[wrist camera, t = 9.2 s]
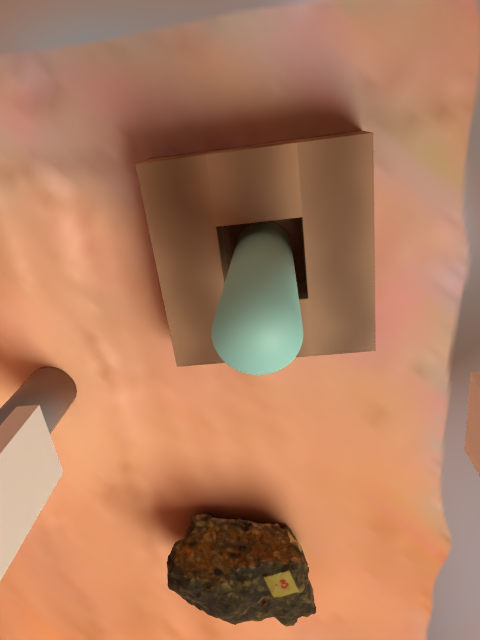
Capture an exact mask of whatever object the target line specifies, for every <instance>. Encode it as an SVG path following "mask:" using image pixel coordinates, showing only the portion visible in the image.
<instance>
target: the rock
mask: <svg viewBox="0 0 480 640" xmlns="http://www.w3.org/2000/svg"><path fill="white" fill-rule="evenodd" d="M167 568H168V587H169V589H170V590H173V591H175V592H176V593H177V594H179V595H180V596H181V597H182V598H183V599H185V600H186V601H187V602H188V603H189V604H191V605H194V606H196V607H197V608H198V609H199V610H202V611H204V612H206V613H207V614H208V615H211V616H213V617H215V618H220V619H221V620H223V621H227V622H229V623H231V624H235V625H236V624H237V623H242V622H245V621H251V620H252V621H262V620H264V619H265V618H270V617H275V618H276V619H278V620H279V621H280V622H281V623H282V624H283V625H285V626H293V625H294V624H295V623H296V622H297V619H298V618H299V617H301V616H305V617H308V616H310V615H311V614H315V613H316V606H315V603H314V596H313V588H312V586H311V583H310V581H309V579H308V572H309V567H308V564H307V562H306V559H305V556H304V553H303V551H302V547H301V546H300V544H299V543H298V541H297V540H296V538H295V536H294V535H293V533H292V532H291V530H290V529H289V528H288V527H284V528H283V529H282V528H280V526H279V525H278V523H276V524H270V523H267V524H260V523H256V522H251V521H249V520H242V519H241V518H238V519H225V518H220V519H219V518H213V517H212V516H211V515H210V514H204V513H200V514H196V515H194V516H193V517H192V519H191V526H190V527H189V529H188V531H187V532H186V535H185V538H184V539H181V540H179V541H177V542H176V543H175V544H174V546H173V548H172V551H171V553H170V555H169V556H168V561H167Z"/></svg>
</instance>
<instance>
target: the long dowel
mask: <svg viewBox="0 0 480 640" xmlns="http://www.w3.org/2000/svg"><path fill="white" fill-rule="evenodd" d="M212 341H213V345H214V347H215V350H216V351H217V353H218V355H219V356H220V357H221V359H222V360H223V361H224V362H225V363H227V364H228V365H229V366H230V367H232V368H234V369H236V370H238V371H240V372H243V373H247V374H253V375H264V374H270V373H273V372H276V371H279V370H281V369H282V368H284V367H286V366H287V365H288V364H290V363H291V362H292V361H293V360H294V358H295V357H296V356H297V354H298V353H299V350H300V348H301V345H302V342H303V326H302V319H301V311H300V304H299V297H298V289H297V282H296V275H295V267H294V260H293V252H292V245H291V241H290V238H289V236H288V234H287V233H286V232H285V230H283V229H282V228H281V227H280V226H278V225H276V224H274V223H271V222H257V223H254V224H251V225H249V226H248V227H246V228H245V229H244V230H243V231H242V232H241V234H240V235H239V237H238V240H237V242H236V246H235V249H234V253H233V256H232V260H231V263H230V266H229V270H228V273H227V277H226V280H225V283H224V287H223V290H222V294H221V297H220V301H219V304H218V307H217V311H216V314H215V318H214V321H213V325H212Z"/></svg>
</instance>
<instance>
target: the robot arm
mask: <svg viewBox="0 0 480 640" xmlns="http://www.w3.org/2000/svg"><path fill="white" fill-rule="evenodd" d="M465 451H466V453H467V455H468V456H469V458H470V460H471V461H472V463H473V465H474V467H475V468H476V470H477V472H478V474H479V475H480V372H474V373H471V378H470V390H469V402H468V414H467V426H466V437H465ZM62 474H63V469H62V467H61V464H60V461H59V458H58V456H57V453H56V450H55V447H54V444H53V442H52V439H51V436H50V433H49V430H48V428H47V425H46V422H45V419H44V417H43V414H42V411H41V408H40V405H31V406H18V407H16V408H15V409H14V410H13V411H12V413H11V414H10V415H9V416H8V417H7V418H6V419H5V421H4V422H3V423H2V424H1V425H0V581H1V579H2V577H3V576H4V574H5V572H6V570H7V569H8V567H9V565H10V564H11V562H12V560H13V558H14V557H15V555H16V553H17V551H18V550H19V548H20V546H21V545H22V543H23V541H24V539H25V538H26V536H27V534H28V533H29V531H30V529H31V527H32V526H33V524H34V522H35V521H36V519H37V517H38V515H39V514H40V512H41V510H42V509H43V507H44V505H45V503H46V502H47V500H48V498H49V497H50V495H51V493H52V491H53V490H54V488H55V486H56V484H57V483H58V481H59V479H60V478H61V476H62Z"/></svg>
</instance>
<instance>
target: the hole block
mask: <svg viewBox="0 0 480 640" xmlns="http://www.w3.org/2000/svg"><path fill="white" fill-rule="evenodd" d="M135 167H136V172H137V176H138V181H139V186H140V191H141V196H142V201H143V205H144V210H145V215H146V220H147V225H148V229H149V234H150V239H151V244H152V249H153V253H154V258H155V263H156V268H157V273H158V278H159V282H160V287H161V292H162V297H163V302H164V306H165V311H166V316H167V321H168V326H169V330H170V335H171V340H172V345H173V350H174V354H175V359H176V364H177V367H178V366H191V365H203V364H216V363H225V362H224V361H223V360H222V359H221V357H220V356H219V355H218V353H217V351H216V350H215V347H214V345H213V341H212V325H213V321H214V318H215V314H216V311H217V307H218V304H219V301H220V297H221V294H222V290H223V287H224V283H225V280H226V277H227V273H228V270H229V264H228V257H227V250H226V243H225V236H224V229H223V226H228V225H237V224H246V223H255V222H263V221H272V220H281V219H290V218H299V217H300V220H301V234H302V247H303V260H304V274H305V281H302V282H297V289H298V297H299V304H300V311H301V319H302V326H303V342H302V345H301V348H300V350H299V353H298V354H297V356H296V357H304V356H317V355H330V354H342V353H355V352H367V351H376V347H375V256H374V165H373V133H372V132H366V131H357V132H349V133H342V134H334V135H326V136H319V137H311V138H304V139H296V140H289V141H281V142H273V143H266V144H258V145H251V146H243V147H236V148H228V149H221V150H213V151H205V152H198V153H190V154H183V155H175V156H168V157H160V158H152V159H148V160H145V161H142V162H139V163H136V164H135Z"/></svg>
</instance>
